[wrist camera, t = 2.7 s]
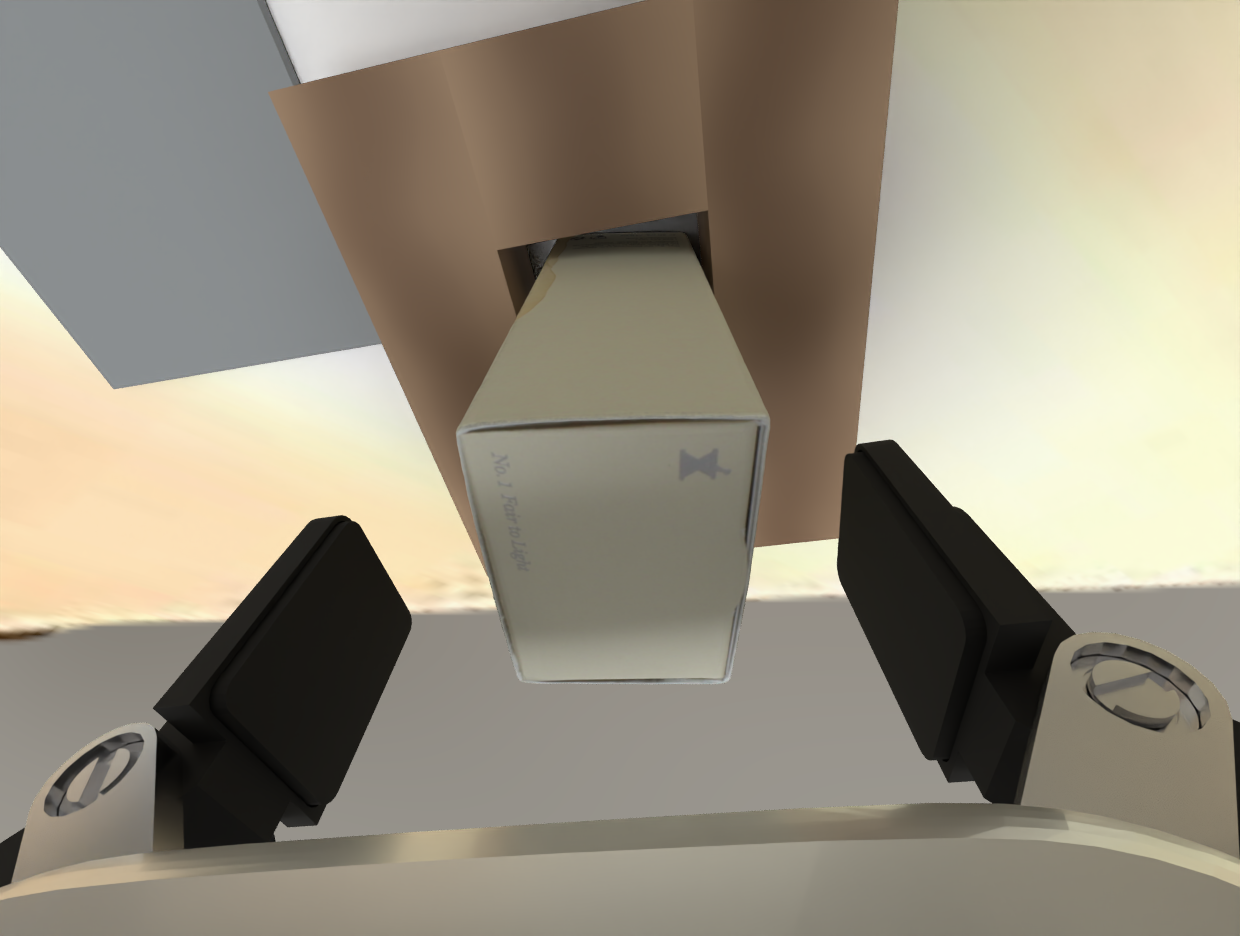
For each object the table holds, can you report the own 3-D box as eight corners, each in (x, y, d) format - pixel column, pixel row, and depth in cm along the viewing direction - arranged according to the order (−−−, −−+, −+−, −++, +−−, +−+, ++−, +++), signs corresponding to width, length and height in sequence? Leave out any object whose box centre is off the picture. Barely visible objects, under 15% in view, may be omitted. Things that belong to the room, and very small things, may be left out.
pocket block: (845, -22, 13) (904, -63, 10) (819, 482, 22) (847, 537, 19) (340, 97, 15) (267, 91, 12) (505, 520, 24) (487, 576, 21)
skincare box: (556, 232, 17) (432, 406, 7) (693, 229, 16) (782, 401, 6) (571, 406, 20) (507, 691, 10) (685, 405, 20) (733, 693, 10)
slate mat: (201, -151, 12) (189, -159, 12) (406, 336, 19) (402, 339, 18) (-200, -26, 14) (-222, -30, 13) (122, 384, 20) (113, 389, 20)
